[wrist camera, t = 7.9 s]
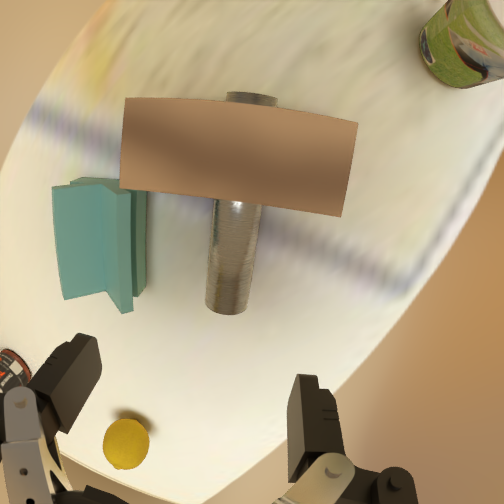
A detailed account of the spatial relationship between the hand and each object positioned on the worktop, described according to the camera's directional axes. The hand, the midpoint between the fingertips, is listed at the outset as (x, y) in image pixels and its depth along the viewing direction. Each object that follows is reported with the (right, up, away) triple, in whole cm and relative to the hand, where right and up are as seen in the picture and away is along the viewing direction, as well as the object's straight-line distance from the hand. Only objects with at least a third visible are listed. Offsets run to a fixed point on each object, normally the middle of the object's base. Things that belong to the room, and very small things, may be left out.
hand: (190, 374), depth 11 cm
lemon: (-12, -16, +23) cm, 31 cm away
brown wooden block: (+1, +10, +11) cm, 15 cm away
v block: (-9, +6, +13) cm, 17 cm away
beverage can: (+17, +20, +6) cm, 27 cm away
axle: (+1, +8, +8) cm, 11 cm away
